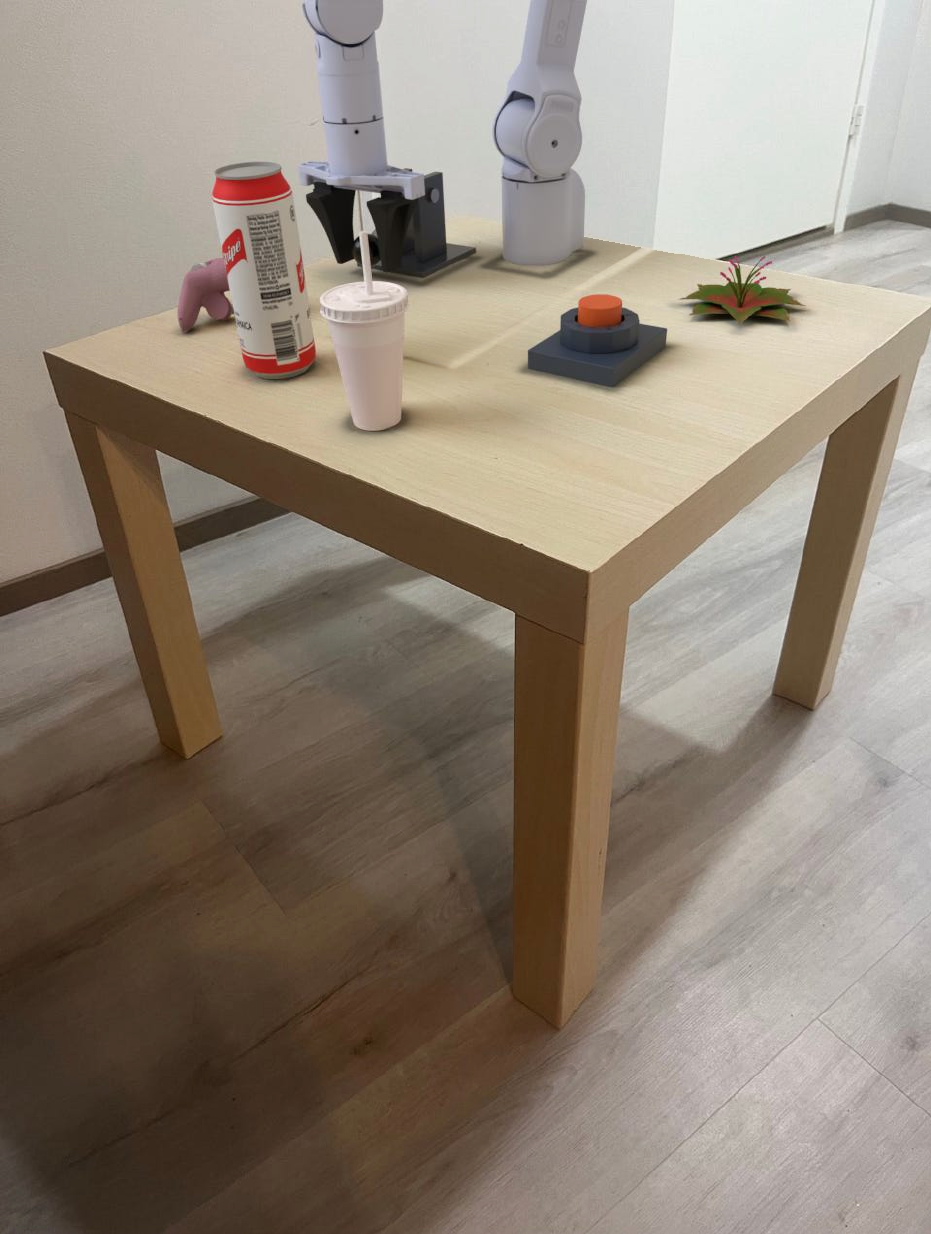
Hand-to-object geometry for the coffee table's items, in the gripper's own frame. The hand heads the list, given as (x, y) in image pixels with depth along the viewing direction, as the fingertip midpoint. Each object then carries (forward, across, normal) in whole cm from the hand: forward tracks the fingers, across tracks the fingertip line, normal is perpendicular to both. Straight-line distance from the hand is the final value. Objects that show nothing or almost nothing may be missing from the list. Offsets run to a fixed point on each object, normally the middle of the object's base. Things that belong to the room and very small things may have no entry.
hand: (368, 265), depth 97 cm
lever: (-2, 0, +5) cm, 5 cm away
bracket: (+2, 0, +8) cm, 8 cm away
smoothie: (+2, +21, -25) cm, 33 cm away
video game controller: (+2, -5, -15) cm, 16 cm away
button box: (+2, +30, -6) cm, 31 cm away
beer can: (+2, +7, -21) cm, 22 cm away
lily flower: (+2, +36, +11) cm, 38 cm away
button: (-1, +30, -6) cm, 31 cm away
